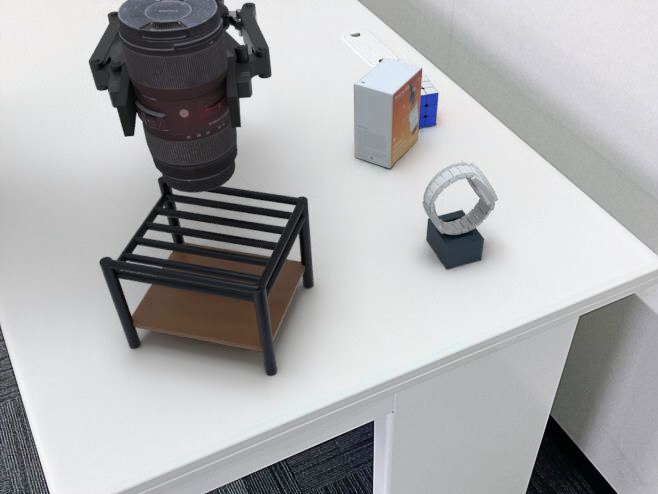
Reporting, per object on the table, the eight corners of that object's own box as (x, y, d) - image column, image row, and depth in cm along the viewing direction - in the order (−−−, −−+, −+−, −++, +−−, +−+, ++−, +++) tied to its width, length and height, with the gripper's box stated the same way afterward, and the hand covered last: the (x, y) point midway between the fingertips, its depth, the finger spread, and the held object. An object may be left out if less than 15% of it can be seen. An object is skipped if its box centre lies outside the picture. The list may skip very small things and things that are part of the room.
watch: (496, 256, 84) (510, 175, 76) (431, 273, 83) (439, 192, 74) (474, 226, 88) (485, 146, 80) (412, 242, 86) (416, 162, 78)
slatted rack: (127, 347, 76) (96, 263, 67) (181, 259, 85) (160, 174, 76) (275, 376, 73) (262, 292, 64) (315, 281, 82) (309, 196, 73)
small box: (390, 170, 96) (392, 95, 88) (353, 157, 98) (352, 83, 90) (419, 140, 100) (424, 66, 92) (383, 128, 102) (385, 55, 94)
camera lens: (246, 193, 66) (221, 27, 54) (154, 203, 65) (109, 36, 54) (242, 142, 71) (218, -19, 60) (156, 151, 70) (116, -11, 59)
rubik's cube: (390, 112, 105) (391, 80, 101) (424, 107, 106) (426, 74, 102) (401, 131, 102) (403, 98, 98) (436, 125, 102) (438, 92, 99)
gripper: (292, 23, 77) (312, 146, 62) (90, 38, 76) (61, 168, 61) (286, -54, 71) (307, 61, 56) (68, -40, 70) (30, 82, 55)
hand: (180, 116), depth 59 cm, fingers closed on camera lens, 8 cm apart
